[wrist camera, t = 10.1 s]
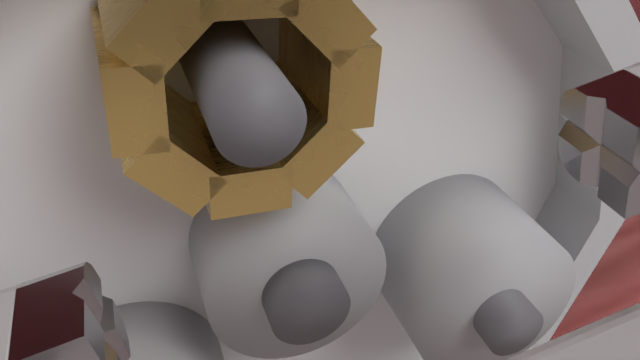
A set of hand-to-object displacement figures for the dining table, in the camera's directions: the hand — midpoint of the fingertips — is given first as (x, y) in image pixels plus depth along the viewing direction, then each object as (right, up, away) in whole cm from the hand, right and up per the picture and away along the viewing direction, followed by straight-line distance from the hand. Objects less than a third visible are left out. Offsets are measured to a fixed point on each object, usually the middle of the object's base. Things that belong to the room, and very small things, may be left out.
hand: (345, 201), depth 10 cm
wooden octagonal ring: (-3, +4, +6) cm, 8 cm away
